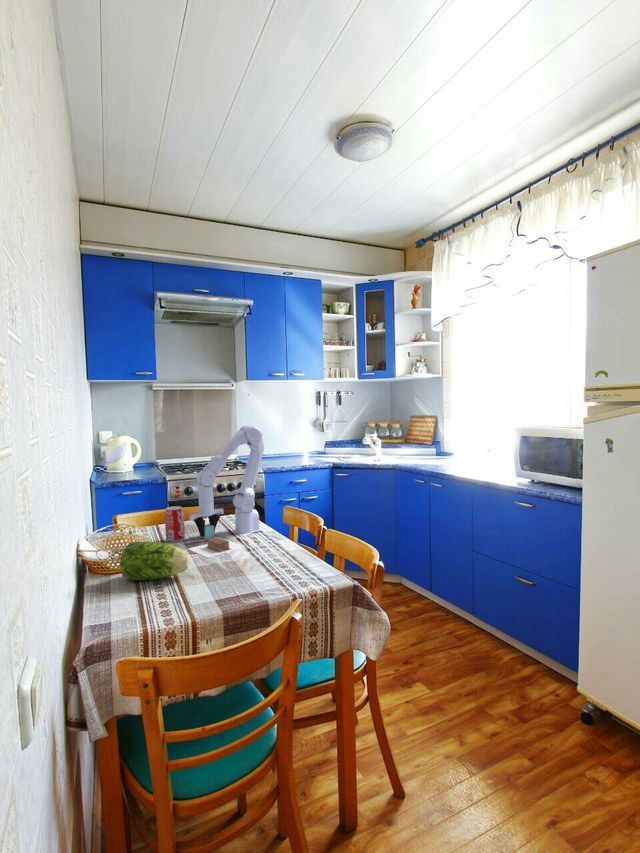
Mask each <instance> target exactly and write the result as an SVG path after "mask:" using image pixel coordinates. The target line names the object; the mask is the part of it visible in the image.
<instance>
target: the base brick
mask: <svg viewBox="0 0 640 853" xmlns="http://www.w3.org/2000/svg"><path fill="white" fill-rule="evenodd" d="M224 539H225V538H222V537H219V536H214V537H212V538H208V539H206V540H207V544H208V548H211V549H213V550H216V551H219V552H221V551H225V550H228V549H229V541H230V540H229V541H227V540H228V539H226V540H224Z"/></svg>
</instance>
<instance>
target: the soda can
mask: <svg viewBox="0 0 640 853" xmlns="http://www.w3.org/2000/svg"><path fill="white" fill-rule="evenodd" d="M184 514H185V511H184V509H183V507H182V506H181V505H176V506H175V505H174V506H167V507H166V508H165V512H164V526H165V541H167V542H168V543H174V542H178V541H179V542H180V541H182V540H183V541H184V539H185V538H186V536H185V535H186V532H185V515H184Z"/></svg>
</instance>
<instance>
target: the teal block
mask: <svg viewBox="0 0 640 853" xmlns="http://www.w3.org/2000/svg"><path fill="white" fill-rule="evenodd" d="M199 537H200V538H202V539H203V540H204V539H205V540H207V539H210V538H214V537H215V533H214V526H213V525H210V524H209V523H208V524H205V526H204V537H202V536H200V535H199Z"/></svg>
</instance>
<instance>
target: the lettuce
mask: <svg viewBox="0 0 640 853" xmlns="http://www.w3.org/2000/svg"><path fill="white" fill-rule="evenodd" d="M190 565H191V555H190V553H189V552H187V551H186V550H185V549H183V548H180V547H179V546H177V545H176V544H172V543H169V542H168V543H167V542H157V541H132V542H131V543H128V545H126V546H124V548H123V549H122V552H121V555H120V559H119V568H120V574H121V576H122V577H124V578H125V579H127V580H128V581H148V580H159V579H165V578H170V577H172V576H175V575H177V574H182V573H183V572H185V571H187V570H188V569H189V568H190Z"/></svg>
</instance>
